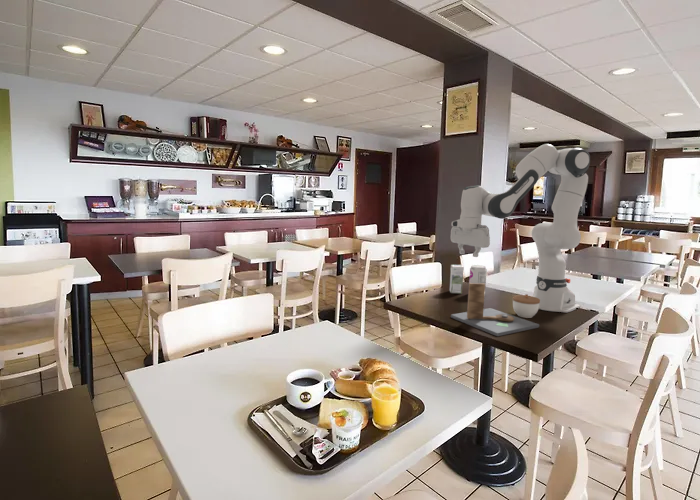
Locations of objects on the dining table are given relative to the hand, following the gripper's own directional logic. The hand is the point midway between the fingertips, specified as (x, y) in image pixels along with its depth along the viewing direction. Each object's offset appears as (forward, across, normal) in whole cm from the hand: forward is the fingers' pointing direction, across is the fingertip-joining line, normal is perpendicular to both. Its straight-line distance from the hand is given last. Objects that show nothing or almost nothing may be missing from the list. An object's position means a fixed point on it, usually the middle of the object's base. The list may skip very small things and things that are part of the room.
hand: (468, 255), depth 177 cm
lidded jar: (+25, -16, -19) cm, 35 cm away
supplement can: (+25, +19, -26) cm, 41 cm away
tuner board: (+25, -17, +1) cm, 30 cm away
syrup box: (+25, +28, -20) cm, 43 cm away
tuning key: (+23, -16, +2) cm, 29 cm away
